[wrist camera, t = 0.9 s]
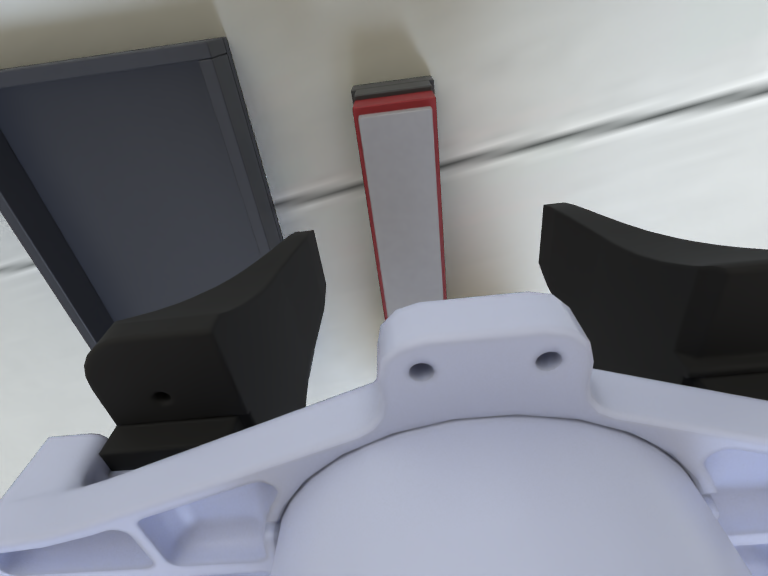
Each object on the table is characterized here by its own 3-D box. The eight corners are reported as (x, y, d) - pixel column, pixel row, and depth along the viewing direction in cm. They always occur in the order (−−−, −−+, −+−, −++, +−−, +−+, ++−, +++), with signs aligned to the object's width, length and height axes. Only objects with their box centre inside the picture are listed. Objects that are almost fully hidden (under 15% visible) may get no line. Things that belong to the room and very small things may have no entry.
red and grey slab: (444, 307, 27) (454, 356, 23) (386, 312, 27) (386, 362, 23) (431, 75, 20) (442, 92, 16) (352, 85, 20) (344, 105, 16)
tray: (314, 351, 29) (309, 378, 27) (138, 367, 30) (120, 395, 28) (226, 36, 19) (206, 40, 17) (-35, 74, 20) (-85, 83, 18)
